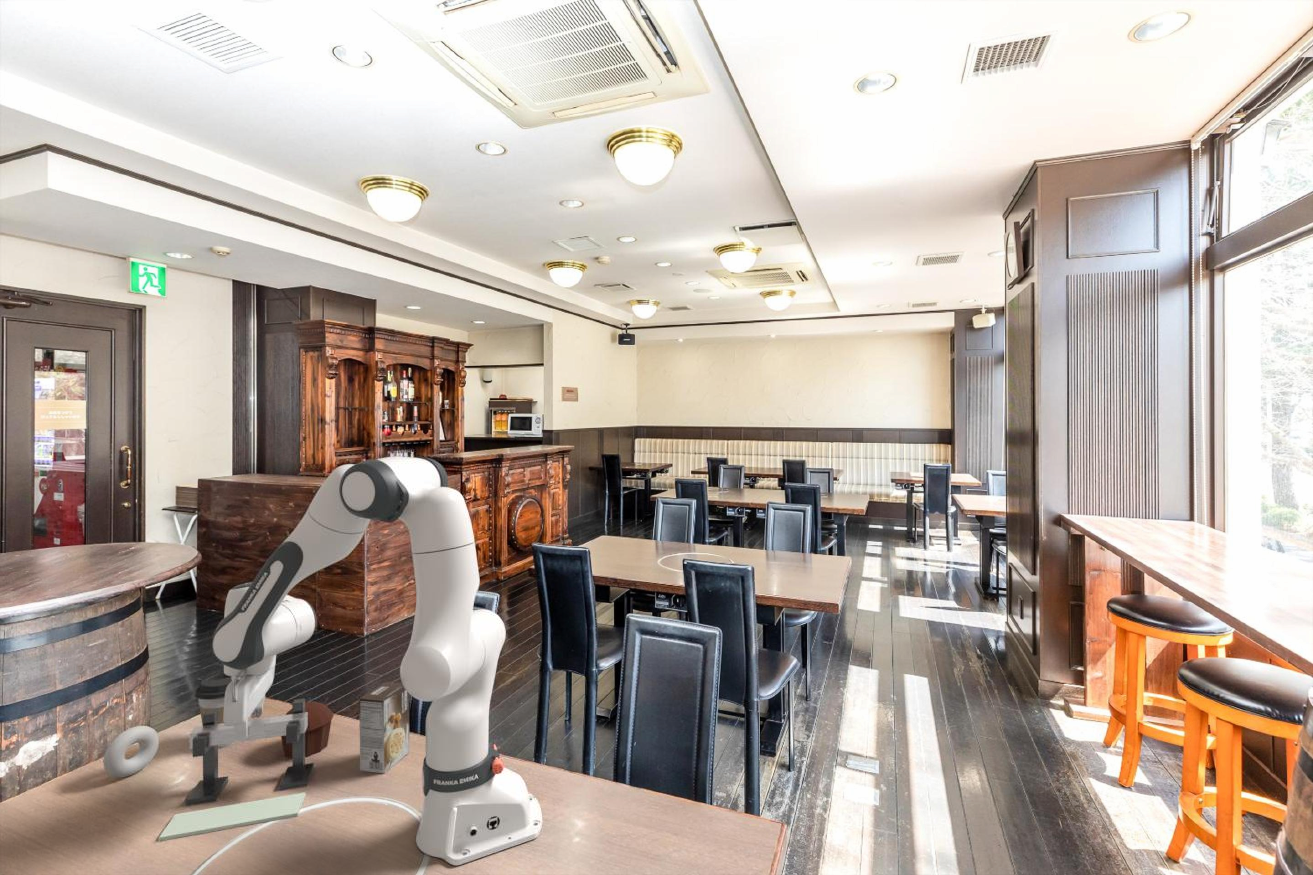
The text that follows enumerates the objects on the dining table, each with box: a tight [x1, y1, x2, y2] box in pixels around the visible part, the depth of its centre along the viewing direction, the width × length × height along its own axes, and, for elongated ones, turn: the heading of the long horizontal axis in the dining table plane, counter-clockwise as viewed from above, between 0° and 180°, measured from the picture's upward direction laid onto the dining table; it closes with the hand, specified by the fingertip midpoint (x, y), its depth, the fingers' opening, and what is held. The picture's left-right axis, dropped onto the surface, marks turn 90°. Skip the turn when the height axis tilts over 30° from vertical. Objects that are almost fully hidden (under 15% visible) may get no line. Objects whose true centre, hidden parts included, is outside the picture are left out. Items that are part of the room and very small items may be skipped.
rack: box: [185, 698, 315, 807], centre depth 125 cm, size 21×8×16 cm, turn 109°
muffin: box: [280, 701, 334, 759], centre depth 141 cm, size 12×11×10 cm
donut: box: [102, 725, 160, 778], centre depth 130 cm, size 10×4×10 cm, turn 161°
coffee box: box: [358, 681, 410, 774], centre depth 135 cm, size 9×6×16 cm
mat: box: [158, 792, 307, 842], centre depth 116 cm, size 22×7×1 cm, turn 109°
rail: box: [189, 712, 308, 750], centre depth 124 cm, size 20×3×3 cm, turn 109°
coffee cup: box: [194, 671, 238, 749], centre depth 144 cm, size 11×11×15 cm
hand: (250, 726), depth 124 cm, fingers open, 8 cm apart
